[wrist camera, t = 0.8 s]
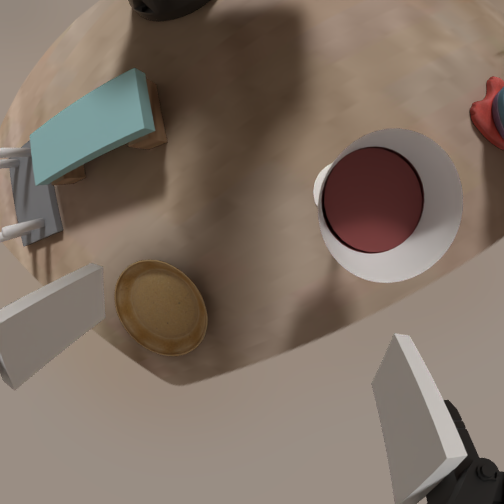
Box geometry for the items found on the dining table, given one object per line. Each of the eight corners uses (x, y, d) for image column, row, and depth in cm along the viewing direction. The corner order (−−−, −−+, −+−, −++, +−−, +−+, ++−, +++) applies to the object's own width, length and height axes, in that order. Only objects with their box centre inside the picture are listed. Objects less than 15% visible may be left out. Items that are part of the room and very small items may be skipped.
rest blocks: (65, 132, 37) (44, 130, 32) (156, 83, 33) (137, 73, 28) (73, 183, 39) (51, 185, 34) (167, 142, 35) (148, 137, 30)
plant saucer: (174, 235, 38) (165, 239, 35) (233, 326, 40) (228, 335, 37) (108, 283, 42) (98, 288, 39) (160, 359, 44) (153, 367, 41)
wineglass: (391, 199, 32) (482, 223, 13) (334, 240, 34) (368, 311, 15) (353, 144, 31) (413, 101, 12) (295, 186, 34) (285, 190, 14)
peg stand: (13, 158, 40) (-26, 160, 30) (46, 132, 38) (1, 129, 28) (28, 244, 44) (-12, 258, 34) (63, 230, 41) (17, 243, 31)
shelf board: (47, 184, 34) (35, 185, 32) (41, 136, 33) (29, 135, 30) (155, 130, 30) (144, 127, 27) (145, 73, 28) (134, 67, 26)
